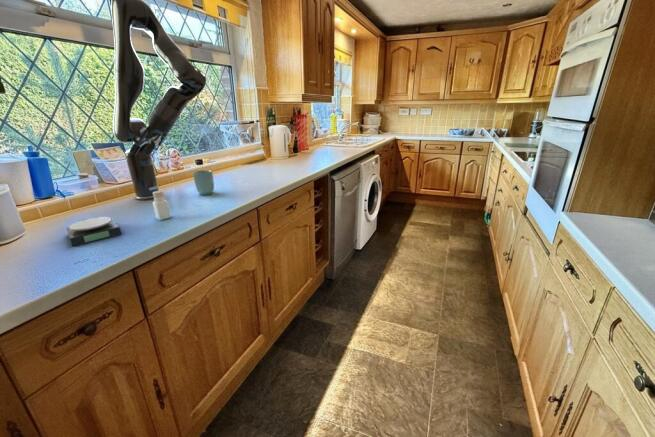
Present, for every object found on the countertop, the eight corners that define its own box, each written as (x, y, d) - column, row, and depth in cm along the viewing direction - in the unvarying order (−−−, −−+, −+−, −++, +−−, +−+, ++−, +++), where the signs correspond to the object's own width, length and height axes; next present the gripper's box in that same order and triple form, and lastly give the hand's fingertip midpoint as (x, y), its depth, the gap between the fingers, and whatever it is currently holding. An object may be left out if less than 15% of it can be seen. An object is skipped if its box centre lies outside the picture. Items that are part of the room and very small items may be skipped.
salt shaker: (160, 220, 104) (153, 194, 100) (155, 218, 106) (149, 192, 103) (172, 217, 106) (166, 191, 103) (167, 215, 109) (161, 189, 106)
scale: (68, 235, 94) (64, 223, 93) (113, 224, 102) (110, 213, 100) (72, 247, 85) (67, 234, 84) (121, 234, 93) (118, 222, 92)
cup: (209, 196, 132) (205, 173, 128) (193, 195, 133) (189, 173, 130) (218, 191, 139) (215, 169, 135) (203, 191, 140) (199, 169, 137)
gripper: (166, 111, 111) (142, 146, 113) (143, 105, 97) (116, 146, 99) (183, 125, 112) (159, 159, 114) (163, 121, 98) (136, 160, 100)
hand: (139, 153), depth 107 cm, fingers open, 8 cm apart
